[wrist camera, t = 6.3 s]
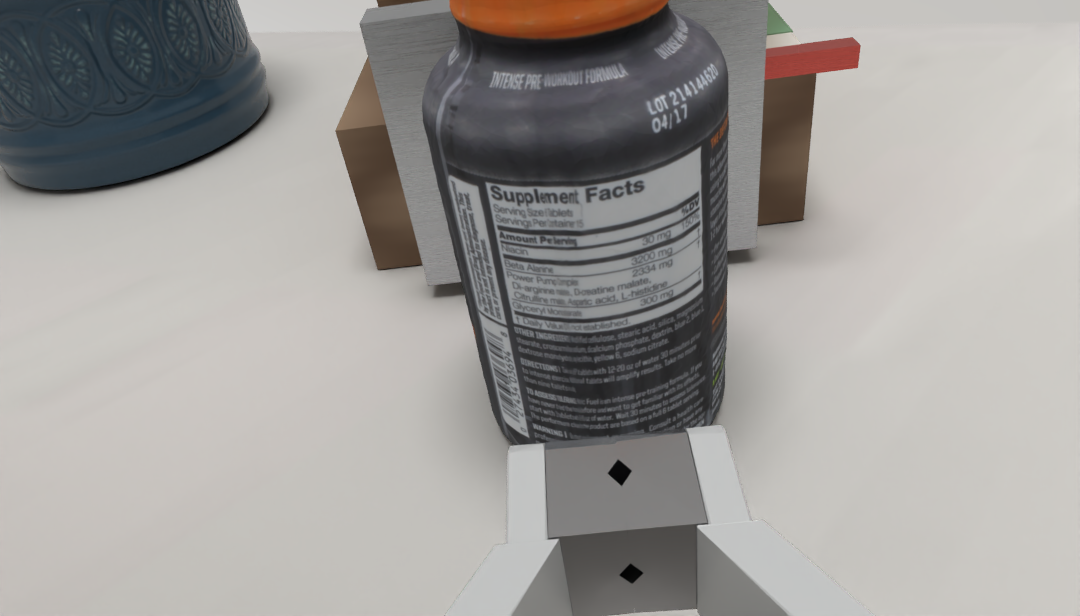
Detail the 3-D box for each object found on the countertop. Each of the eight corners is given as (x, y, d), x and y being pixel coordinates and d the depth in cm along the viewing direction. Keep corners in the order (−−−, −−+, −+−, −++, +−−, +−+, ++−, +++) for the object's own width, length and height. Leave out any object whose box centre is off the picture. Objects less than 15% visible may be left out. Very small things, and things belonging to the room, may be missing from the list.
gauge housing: (377, 269, 26) (280, -50, 20) (420, 102, 37) (365, -135, 31) (803, 219, 25) (835, -129, 19) (716, 64, 36) (719, -188, 30)
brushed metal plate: (428, 285, 24) (359, 23, 19) (431, 263, 25) (367, 9, 20) (840, 237, 23) (876, -47, 19) (828, 217, 24) (859, -59, 20)
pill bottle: (563, 301, 23) (507, -121, 17) (758, 352, 21) (785, -132, 14) (446, 436, 20) (309, -41, 13) (664, 521, 17) (638, -33, 10)
